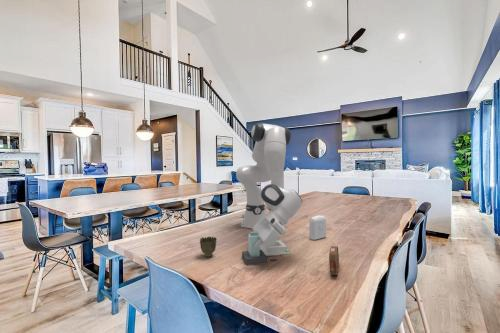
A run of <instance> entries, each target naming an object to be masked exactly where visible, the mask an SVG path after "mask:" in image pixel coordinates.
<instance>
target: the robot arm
mask: <svg viewBox="0 0 500 333" xmlns="http://www.w3.org/2000/svg"><path fill="white" fill-rule="evenodd" d="M291 132H292V131H291V130H290V129H289V128H287V127H282V126H280V125H277V124H270V123H264V122H256V123H254V125H253V126H252V129H251V131H250V133H251V134H250V135H251V139H252V140H253V141H255V144H254V147H253V150H252V153H251V158H252V159H253V161H254V162H255V163H256V164H255V165H244V166H240V167H238V168H237V170H236V173H235V176H236V180H237V181H238V182H239V183H240V184H241V185H242V187H244V189H245V195H246V204H245V211H244V213H243V214H241V220H240V227H241V228H247V229H252V230H253V232H254V231H257V232H258V236H259V237H260V239H259V241H258V242H257V243H254V245H253V247H254V248H255V249H257V248H258V247H259V246H262V245H263V244H264V243H265V244H266V245H267V246H268V247H270V246H272V245H273V244H274V243H275V242H276V241H277V240H280V238H281V237H282V235H285V233H286V232H287V231H286V230H287V228H286V225H287V224H288V222H289V221H290V219H291V218H293V217H294V216H295V215H296V214H297V213H298V211H299V210H300V209H301V207H302V206H303V199H302V198H301V196H300V194H299V193H298V192H297V191H296V190H295V189H287V188H284V187H285V186H284V185H285V184H284V179H285V178H284V173H285V172H284V171H285V162H286V152H287V145H289V143H290V142H291V139H292V133H291ZM266 182H270V184H267V185H265V186H264V187H263V188H262V189H261V188H259V186H258V185H257V183H266ZM265 207H267V209H268V211H269V212H267V211H265V209H266V208H265Z"/></svg>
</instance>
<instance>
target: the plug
mask: <svg viewBox="0 0 500 333" xmlns="http://www.w3.org/2000/svg"><path fill="white" fill-rule="evenodd" d="M259 239H260V237H259V236H258V232H257V231H254V230H253V231H250V232H249V233H248V240H247V241H248V243H247V245H248V247H247V249H248V250H247V251H248V255H249V256H250V257H255V256H260V250H261V249H260V246H259V247H258V248H257V249H255V248H254V247H253V245H254V243H257V242H258V241H259Z"/></svg>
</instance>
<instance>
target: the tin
mask: <svg viewBox="0 0 500 333" xmlns="http://www.w3.org/2000/svg"><path fill="white" fill-rule="evenodd" d="M339 257H340V254H339V246H338V245H337V246H336V245H332V246H330V248H329V253H328V262H329V275H331V276H339V268H340V259H339Z"/></svg>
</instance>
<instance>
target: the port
mask: <svg viewBox="0 0 500 333" xmlns="http://www.w3.org/2000/svg"><path fill="white" fill-rule="evenodd" d="M260 250H262V251H263V252H264V254H265V255H266V256H267V257H271V256H280V255H291V254H292V253H291V251H290V250H289V249H288V246H287V245H286V244H285V243H284V242H283V241H282V240H280V239H278V240H277V241H276V242H275V243H274V244H273V245H272V246H270V247H268V246H267V245H266V244H265V243H264V244H263V245H261V246H260Z"/></svg>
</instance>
